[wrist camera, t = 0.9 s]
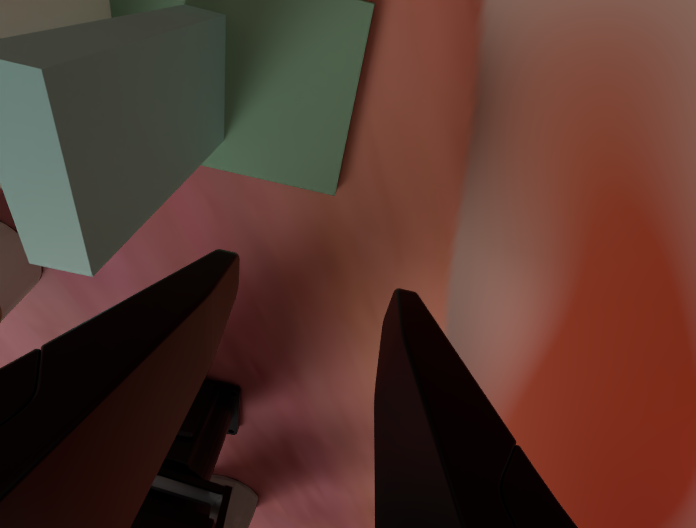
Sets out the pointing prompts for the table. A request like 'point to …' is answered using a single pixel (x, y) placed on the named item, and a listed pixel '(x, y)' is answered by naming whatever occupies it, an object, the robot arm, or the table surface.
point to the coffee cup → (14, 271)
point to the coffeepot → (238, 502)
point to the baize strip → (284, 84)
